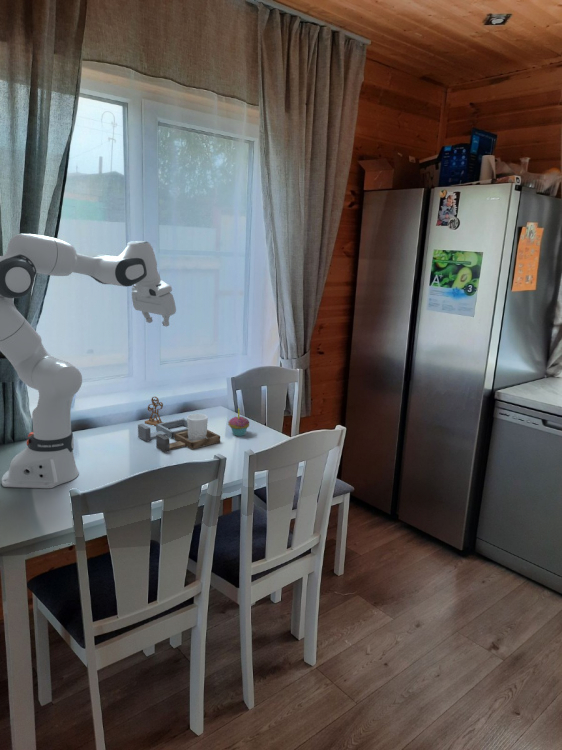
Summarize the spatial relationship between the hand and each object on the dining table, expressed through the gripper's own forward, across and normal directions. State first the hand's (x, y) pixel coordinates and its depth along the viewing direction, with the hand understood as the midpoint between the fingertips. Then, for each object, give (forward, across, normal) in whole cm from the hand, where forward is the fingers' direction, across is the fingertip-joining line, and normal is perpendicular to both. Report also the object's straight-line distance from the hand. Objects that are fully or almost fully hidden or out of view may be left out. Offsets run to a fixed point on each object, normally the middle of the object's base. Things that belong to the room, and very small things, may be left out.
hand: (157, 324), depth 198 cm
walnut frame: (+46, +7, -5) cm, 47 cm away
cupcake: (+52, +13, +16) cm, 56 cm away
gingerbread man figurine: (+48, -19, 0) cm, 52 cm away
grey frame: (+47, -6, -3) cm, 47 cm away
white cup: (+48, +8, -1) cm, 48 cm away
